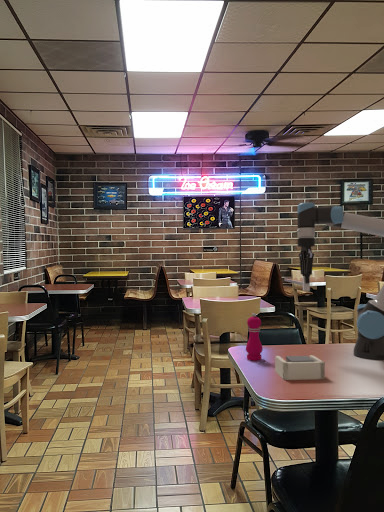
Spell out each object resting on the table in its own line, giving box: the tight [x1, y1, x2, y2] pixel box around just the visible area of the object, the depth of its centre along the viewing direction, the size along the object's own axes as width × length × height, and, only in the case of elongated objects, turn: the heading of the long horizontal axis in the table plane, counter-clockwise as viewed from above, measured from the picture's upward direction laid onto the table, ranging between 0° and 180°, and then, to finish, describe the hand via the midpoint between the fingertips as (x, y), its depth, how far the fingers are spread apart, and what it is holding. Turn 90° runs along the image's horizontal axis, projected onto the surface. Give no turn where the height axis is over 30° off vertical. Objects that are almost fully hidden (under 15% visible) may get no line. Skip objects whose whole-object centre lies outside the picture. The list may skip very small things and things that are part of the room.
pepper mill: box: [245, 312, 263, 362], centre depth 184 cm, size 7×7×20 cm
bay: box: [274, 354, 326, 381], centre depth 158 cm, size 15×12×6 cm
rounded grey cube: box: [285, 355, 314, 362], centre depth 157 cm, size 8×7×7 cm
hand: (306, 290), depth 188 cm, fingers closed
